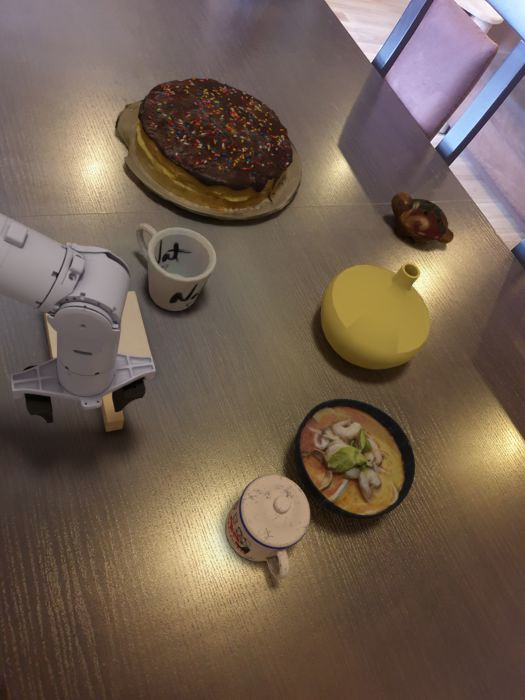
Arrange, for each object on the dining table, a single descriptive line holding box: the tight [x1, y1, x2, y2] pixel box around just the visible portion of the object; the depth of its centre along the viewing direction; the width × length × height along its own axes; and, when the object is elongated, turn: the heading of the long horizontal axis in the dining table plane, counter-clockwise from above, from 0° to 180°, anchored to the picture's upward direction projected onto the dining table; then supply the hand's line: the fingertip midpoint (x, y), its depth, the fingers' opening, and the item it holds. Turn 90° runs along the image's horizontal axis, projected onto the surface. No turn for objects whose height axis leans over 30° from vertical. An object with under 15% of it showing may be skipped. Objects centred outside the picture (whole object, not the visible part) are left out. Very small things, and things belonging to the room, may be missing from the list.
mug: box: [135, 222, 217, 312], centre depth 89 cm, size 10×15×10 cm
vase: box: [320, 261, 431, 370], centre depth 91 cm, size 18×18×19 cm
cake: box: [114, 77, 303, 221], centre depth 109 cm, size 37×37×10 cm
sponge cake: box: [43, 290, 152, 360], centre depth 82 cm, size 13×12×5 cm
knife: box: [100, 392, 125, 432], centre depth 80 cm, size 18×2×3 cm, turn 18°
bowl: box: [293, 398, 416, 521], centre depth 80 cm, size 17×17×10 cm
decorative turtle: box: [390, 192, 455, 246], centre depth 115 cm, size 10×15×8 cm, turn 78°
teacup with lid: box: [225, 474, 311, 581], centre depth 71 cm, size 12×9×12 cm
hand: (83, 409), depth 67 cm, fingers open, 7 cm apart
